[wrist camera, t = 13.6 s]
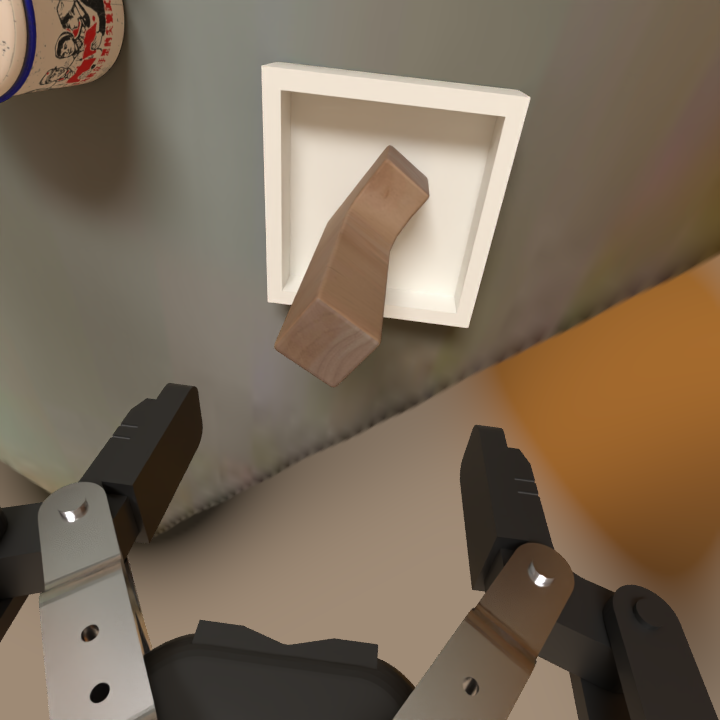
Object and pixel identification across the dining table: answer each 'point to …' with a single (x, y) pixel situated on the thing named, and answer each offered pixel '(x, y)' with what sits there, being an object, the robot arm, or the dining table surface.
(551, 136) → the dining table surface
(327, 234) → the wooden block
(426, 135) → the tray
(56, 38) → the teacup with lid
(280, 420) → the dining table surface
